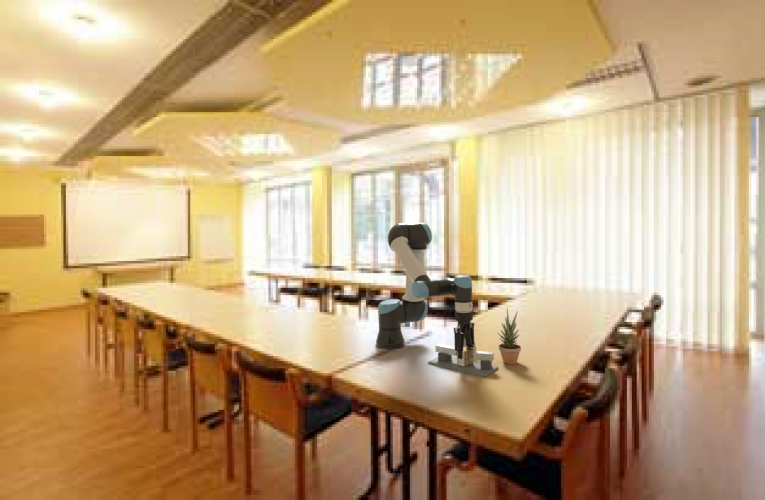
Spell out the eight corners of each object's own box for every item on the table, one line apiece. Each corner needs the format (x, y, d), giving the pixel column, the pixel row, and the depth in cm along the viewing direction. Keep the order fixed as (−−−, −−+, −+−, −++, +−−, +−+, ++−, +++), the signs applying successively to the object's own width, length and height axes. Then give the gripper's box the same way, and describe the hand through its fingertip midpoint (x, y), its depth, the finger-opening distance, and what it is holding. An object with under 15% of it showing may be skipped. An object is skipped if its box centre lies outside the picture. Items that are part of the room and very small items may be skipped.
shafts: (435, 351, 188) (435, 345, 188) (442, 348, 192) (442, 342, 192) (489, 363, 170) (489, 356, 170) (496, 359, 174) (495, 352, 174)
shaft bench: (428, 363, 185) (428, 353, 185) (443, 356, 194) (442, 347, 194) (484, 377, 167) (484, 366, 166) (498, 368, 176) (497, 358, 175)
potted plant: (521, 359, 187) (520, 305, 185) (521, 366, 178) (520, 309, 176) (498, 357, 190) (497, 305, 188) (497, 364, 181) (496, 309, 180)
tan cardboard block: (467, 367, 176) (467, 351, 175) (457, 365, 179) (456, 349, 179) (473, 364, 180) (473, 348, 179) (463, 361, 183) (463, 346, 183)
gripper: (460, 315, 169) (461, 371, 170) (481, 308, 182) (483, 359, 184) (444, 313, 174) (446, 367, 175) (467, 306, 187) (468, 356, 189)
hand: (465, 363), depth 179 cm, fingers closed on tan cardboard block, 5 cm apart
